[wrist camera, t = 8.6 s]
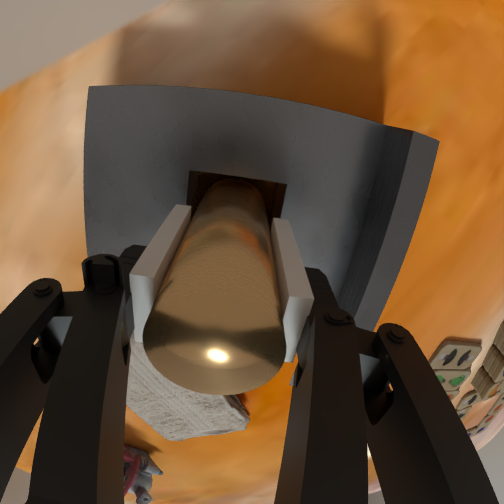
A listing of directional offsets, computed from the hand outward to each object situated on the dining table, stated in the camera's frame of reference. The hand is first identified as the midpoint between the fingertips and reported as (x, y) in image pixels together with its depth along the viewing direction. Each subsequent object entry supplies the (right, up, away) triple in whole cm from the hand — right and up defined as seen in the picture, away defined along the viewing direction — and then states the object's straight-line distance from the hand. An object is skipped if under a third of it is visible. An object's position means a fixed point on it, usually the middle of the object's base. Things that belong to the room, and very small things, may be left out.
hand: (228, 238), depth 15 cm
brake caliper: (-19, -33, +23) cm, 44 cm away
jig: (0, +3, +5) cm, 6 cm away
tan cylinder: (0, +2, +4) cm, 4 cm away
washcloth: (-7, -14, +15) cm, 22 cm away
